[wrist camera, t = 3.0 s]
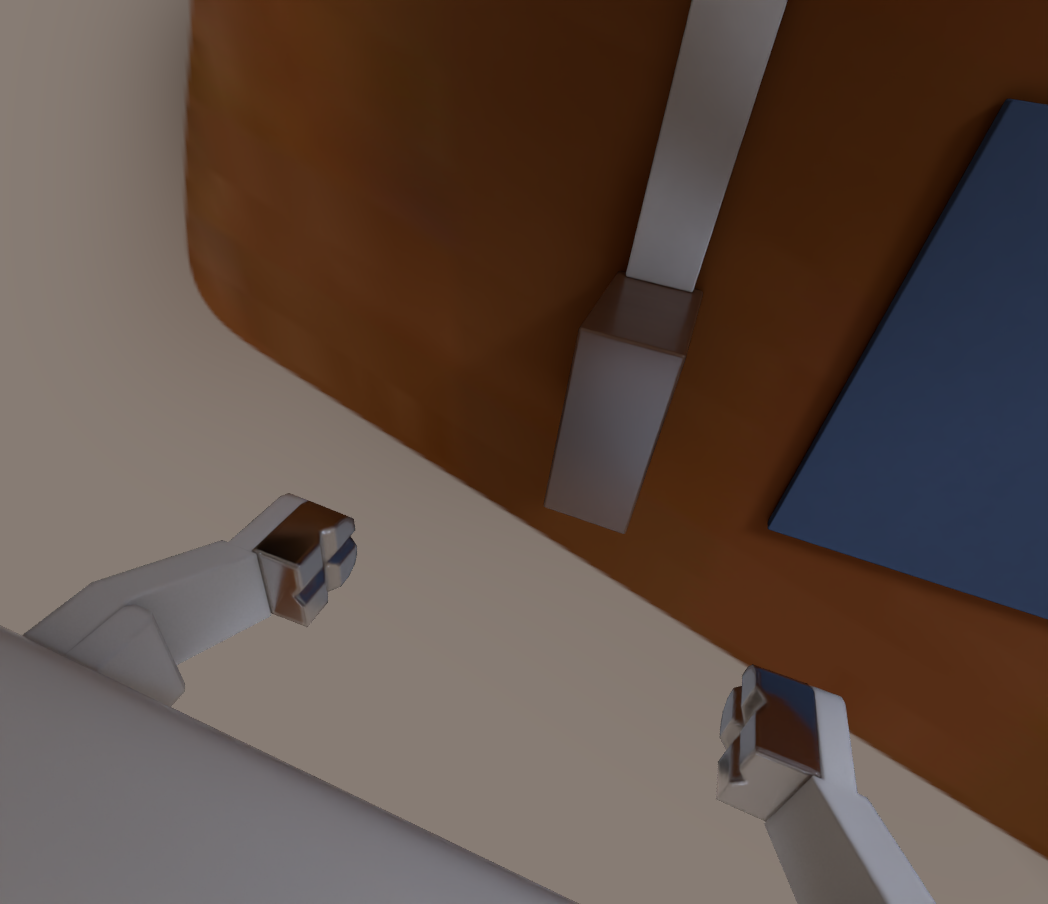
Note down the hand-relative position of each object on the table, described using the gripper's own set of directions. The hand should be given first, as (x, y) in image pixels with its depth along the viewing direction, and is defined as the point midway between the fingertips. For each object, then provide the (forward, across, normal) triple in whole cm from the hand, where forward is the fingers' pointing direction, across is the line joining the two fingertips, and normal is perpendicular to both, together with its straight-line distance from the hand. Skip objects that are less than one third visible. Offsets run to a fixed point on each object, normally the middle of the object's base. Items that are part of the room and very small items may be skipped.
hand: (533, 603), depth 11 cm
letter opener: (+10, 0, -4) cm, 11 cm away
